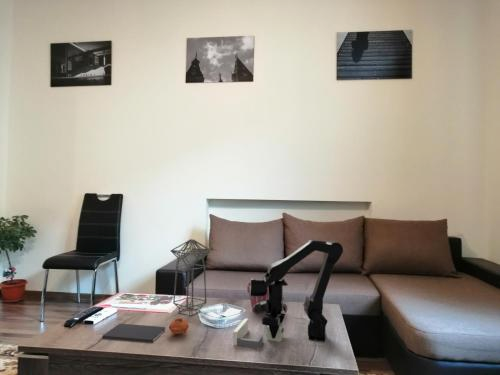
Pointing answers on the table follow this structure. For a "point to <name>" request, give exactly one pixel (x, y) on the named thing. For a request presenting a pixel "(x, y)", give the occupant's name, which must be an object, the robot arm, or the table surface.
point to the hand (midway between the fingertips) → (275, 335)
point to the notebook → (134, 332)
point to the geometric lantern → (191, 271)
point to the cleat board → (241, 332)
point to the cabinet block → (278, 335)
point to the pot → (178, 326)
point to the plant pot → (256, 298)
